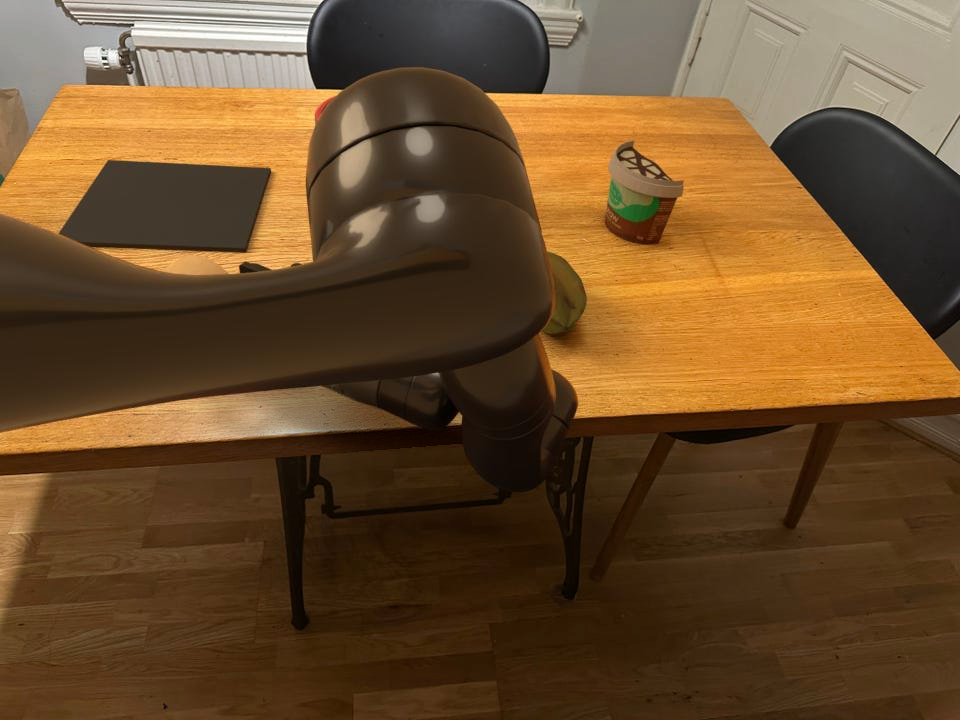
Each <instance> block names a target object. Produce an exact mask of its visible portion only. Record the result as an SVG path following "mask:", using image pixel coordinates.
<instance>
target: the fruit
mask: <svg viewBox="0 0 960 720" xmlns="http://www.w3.org/2000/svg"><path fill="white" fill-rule="evenodd" d="M547 253H548V258H549V262H550V266H551V271H552V276H553V282H554V289H555V308H554V312H553V315H552V317H551V319H550V321H549V323H548V324H547V326H546V327H545V328H544V329H543V330H542V331H541V332H543V333H545V334H548V335H552V334H553V335H554V334H561V333H563V332H568V333H575V332H576V331H577V326H576V325H577V324H576V323H578V321H579V320H580V318H581V317H582V316H583V314H584V312H585V309H586V306H587V301H588V300H587V299H588V297H587V293H586V289H585V287H584V282H583V281H582V278H581V277H580V275H579V273H577V271H576V270H574V268H573V267H572V265H571V264H570V263H569V261H568V260H566V259H565V258H563V257H562V256H561V255H559V254H557V253H554V252H550V251H548V250H547Z"/></svg>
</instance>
